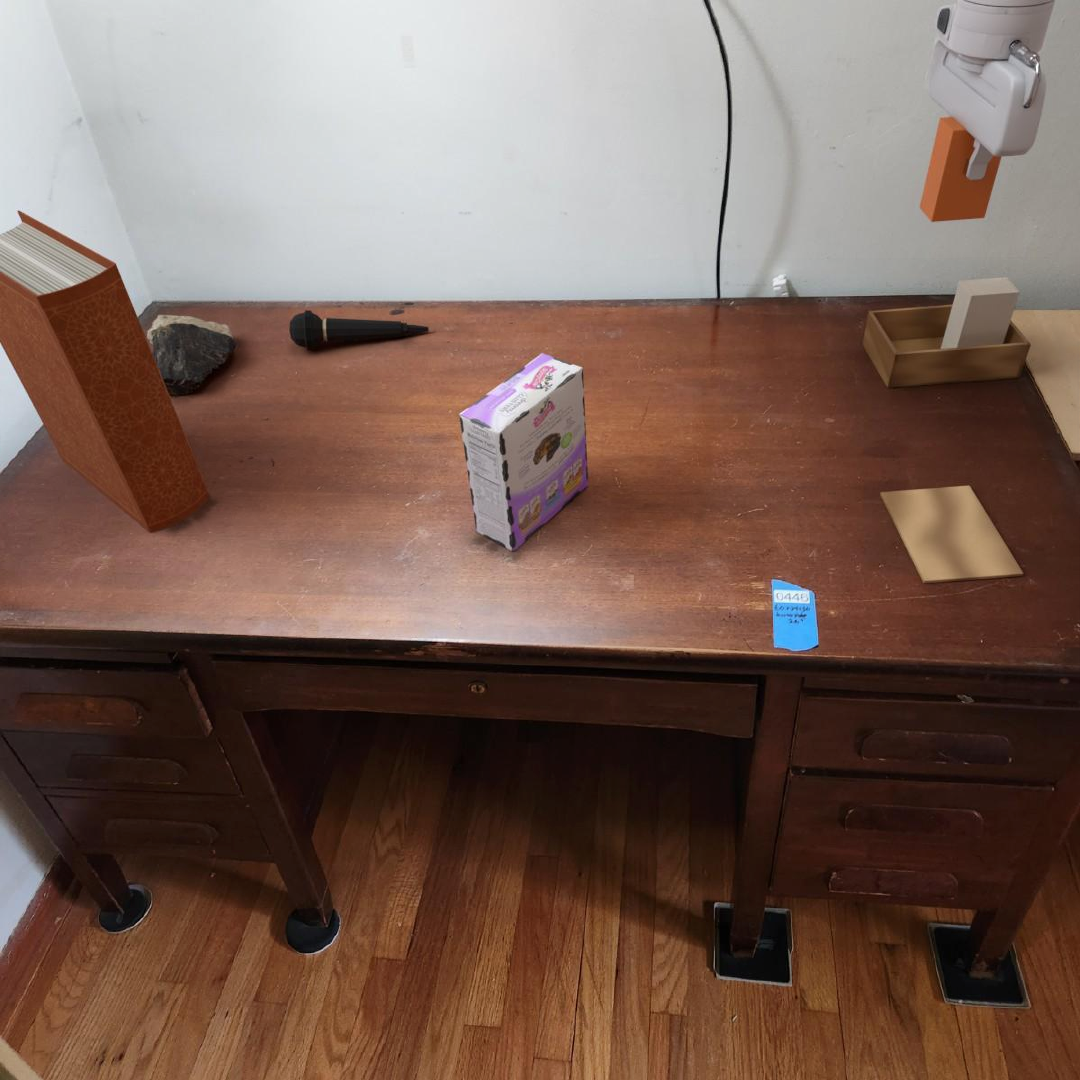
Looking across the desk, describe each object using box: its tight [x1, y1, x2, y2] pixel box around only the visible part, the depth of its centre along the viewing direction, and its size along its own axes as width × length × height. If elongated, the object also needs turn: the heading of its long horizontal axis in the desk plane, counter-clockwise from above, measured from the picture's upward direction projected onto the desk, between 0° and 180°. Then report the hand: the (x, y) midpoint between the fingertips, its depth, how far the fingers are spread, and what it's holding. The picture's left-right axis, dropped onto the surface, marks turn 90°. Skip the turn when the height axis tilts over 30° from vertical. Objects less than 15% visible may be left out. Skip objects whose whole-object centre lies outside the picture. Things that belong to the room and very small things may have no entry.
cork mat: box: [879, 485, 1024, 584], centre depth 97 cm, size 10×14×1 cm
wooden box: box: [861, 304, 1032, 389], centre depth 120 cm, size 17×11×5 cm, turn 92°
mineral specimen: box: [146, 314, 238, 397], centre depth 129 cm, size 13×7×15 cm
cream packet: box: [941, 276, 1020, 349], centre depth 118 cm, size 6×4×10 cm, turn 92°
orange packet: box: [919, 116, 1002, 223], centre depth 101 cm, size 6×4×10 cm, turn 92°
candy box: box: [458, 352, 589, 552], centre depth 99 cm, size 14×6×16 cm, turn 141°
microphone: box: [288, 309, 429, 351], centre depth 133 cm, size 6×6×20 cm
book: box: [0, 210, 211, 534], centre depth 103 cm, size 23×8×30 cm, turn 47°
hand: (963, 167), depth 101 cm, fingers closed on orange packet, 4 cm apart
